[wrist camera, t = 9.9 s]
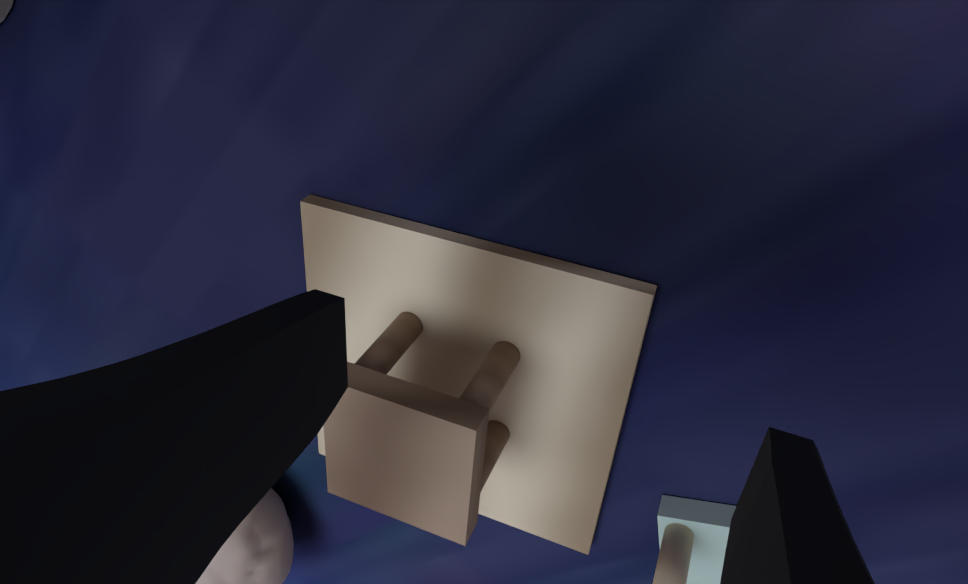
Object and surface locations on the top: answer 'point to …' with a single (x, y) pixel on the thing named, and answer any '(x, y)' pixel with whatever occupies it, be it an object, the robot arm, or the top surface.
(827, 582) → the robot arm
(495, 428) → the stool
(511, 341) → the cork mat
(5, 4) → the thermos bottle
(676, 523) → the upturned stool
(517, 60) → the top surface
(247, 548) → the garlic bulb
